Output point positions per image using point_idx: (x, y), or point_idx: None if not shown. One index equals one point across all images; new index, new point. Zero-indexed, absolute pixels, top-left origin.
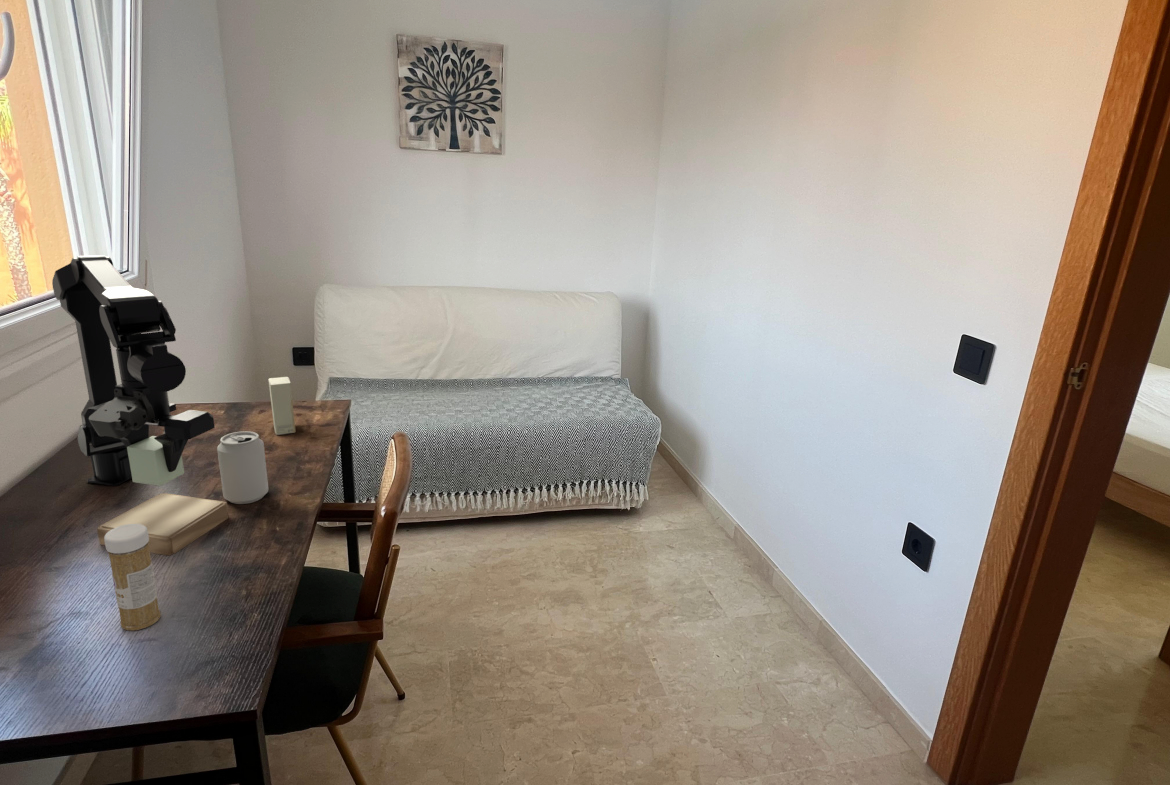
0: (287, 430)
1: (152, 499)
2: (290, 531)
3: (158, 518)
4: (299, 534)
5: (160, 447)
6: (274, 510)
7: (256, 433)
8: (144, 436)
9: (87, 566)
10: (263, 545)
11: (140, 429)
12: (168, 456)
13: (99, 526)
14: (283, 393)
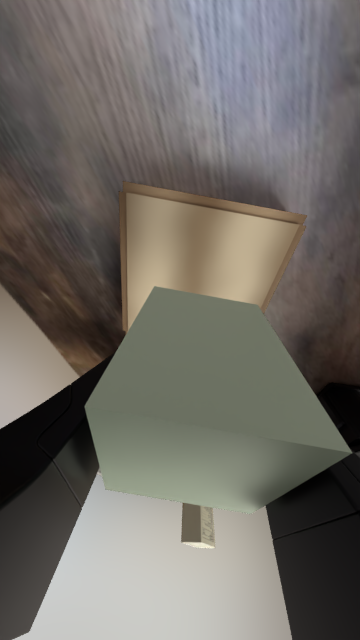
0: None
1: None
2: (23, 290)
3: (195, 270)
4: (4, 283)
5: (100, 441)
6: (90, 338)
7: (100, 475)
8: (282, 521)
9: (277, 103)
10: (20, 245)
11: (323, 611)
12: (84, 382)
13: (304, 226)
14: (188, 523)
